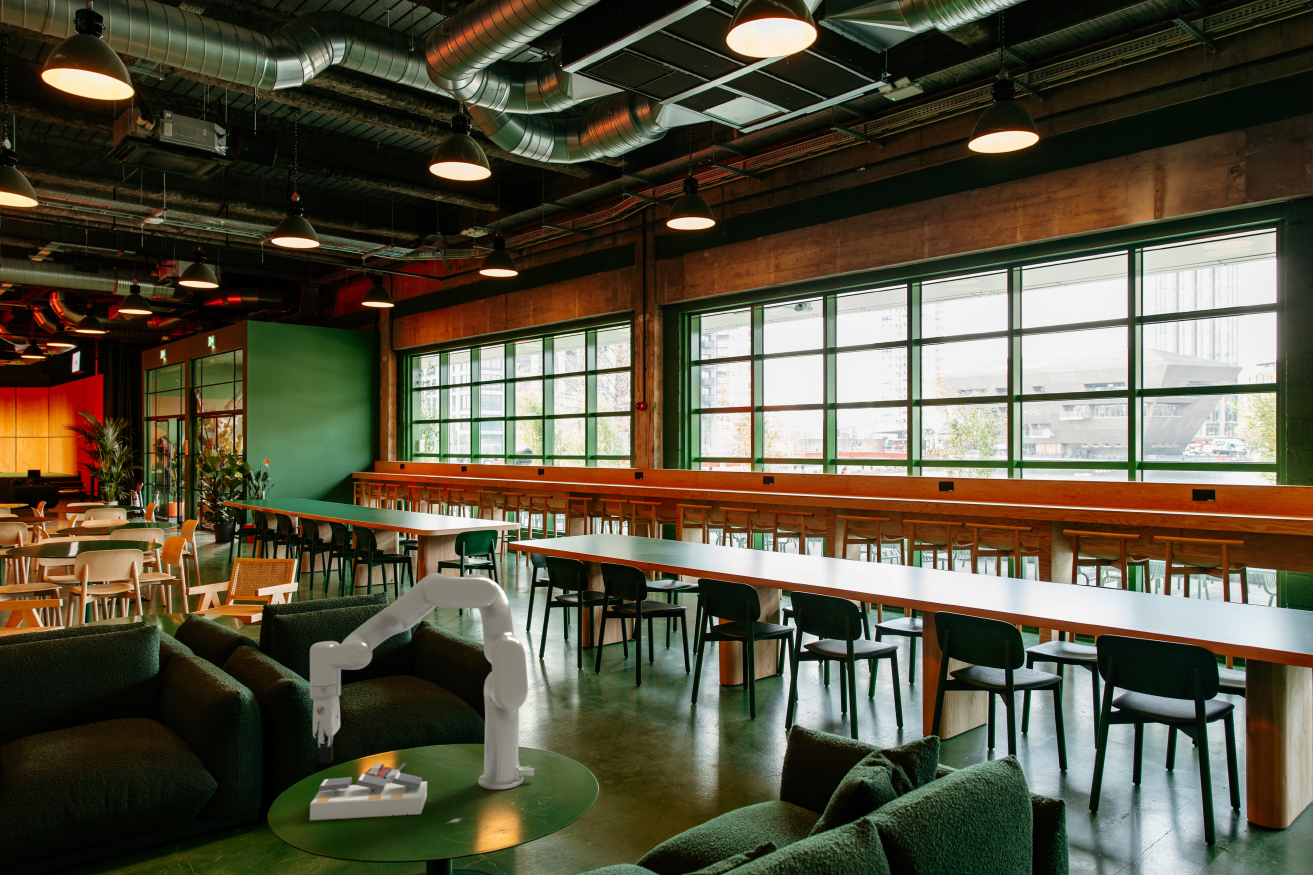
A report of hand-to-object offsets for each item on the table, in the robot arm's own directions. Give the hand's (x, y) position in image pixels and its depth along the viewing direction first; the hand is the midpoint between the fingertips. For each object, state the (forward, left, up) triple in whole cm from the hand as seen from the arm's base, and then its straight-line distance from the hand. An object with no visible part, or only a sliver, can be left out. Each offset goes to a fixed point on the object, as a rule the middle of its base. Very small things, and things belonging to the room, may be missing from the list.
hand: (325, 761), depth 209 cm
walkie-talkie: (-11, -20, -13) cm, 26 cm away
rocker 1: (-3, 0, -6) cm, 6 cm away
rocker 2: (-12, 0, -6) cm, 13 cm away
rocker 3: (-21, 0, -6) cm, 22 cm away
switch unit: (-12, +1, -12) cm, 17 cm away
